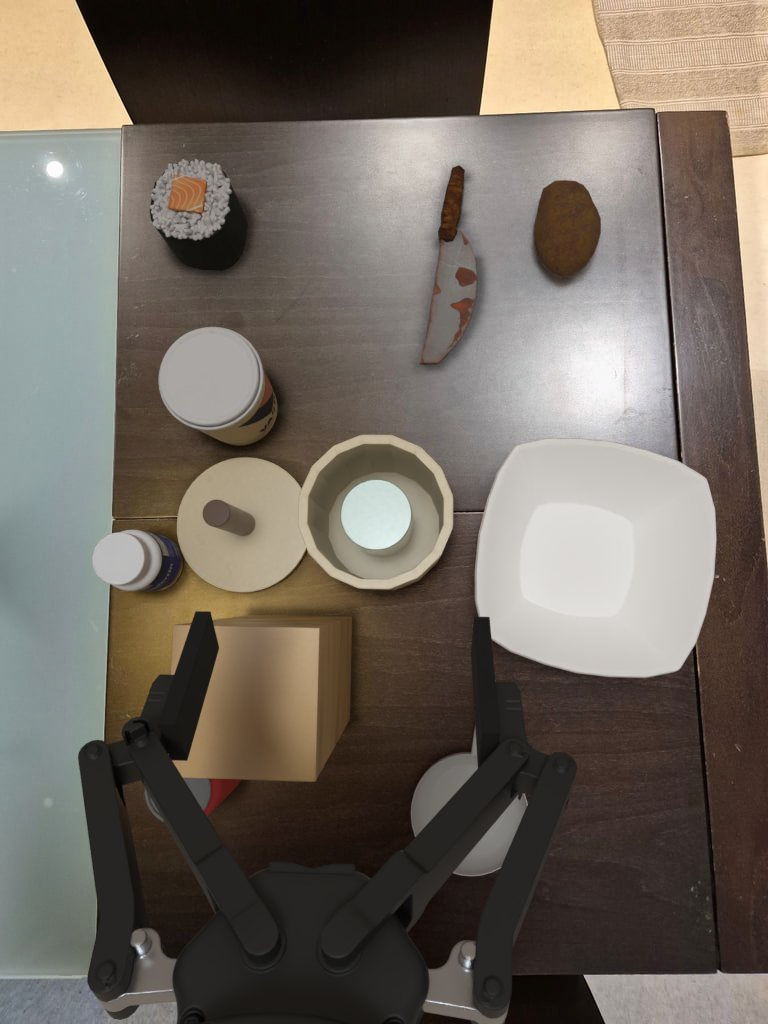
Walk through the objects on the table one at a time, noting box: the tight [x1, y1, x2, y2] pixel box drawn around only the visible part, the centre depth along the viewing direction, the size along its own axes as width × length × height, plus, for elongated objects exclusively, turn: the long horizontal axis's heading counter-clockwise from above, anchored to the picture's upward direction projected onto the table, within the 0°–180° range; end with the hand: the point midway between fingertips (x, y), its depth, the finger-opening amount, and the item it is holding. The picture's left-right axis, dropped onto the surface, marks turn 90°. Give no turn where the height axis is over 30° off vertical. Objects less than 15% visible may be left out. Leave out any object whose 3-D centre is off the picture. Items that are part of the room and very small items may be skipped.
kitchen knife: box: [419, 164, 478, 364], centre depth 76 cm, size 21×2×5 cm
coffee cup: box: [158, 326, 278, 447], centre depth 70 cm, size 9×9×12 cm
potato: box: [533, 179, 602, 279], centre depth 73 cm, size 7×10×6 cm
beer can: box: [143, 778, 242, 823], centre depth 66 cm, size 7×7×12 cm
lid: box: [176, 456, 307, 593], centre depth 69 cm, size 14×14×11 cm
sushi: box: [149, 158, 248, 271], centre depth 74 cm, size 8×8×8 cm
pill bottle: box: [91, 529, 184, 592], centre depth 70 cm, size 6×6×10 cm
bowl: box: [474, 437, 718, 679], centre depth 68 cm, size 21×21×9 cm
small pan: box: [410, 679, 529, 877], centre depth 69 cm, size 11×18×4 cm, turn 171°
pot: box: [298, 434, 454, 591], centre depth 67 cm, size 13×13×14 cm
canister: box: [340, 479, 413, 557], centre depth 67 cm, size 6×6×12 cm
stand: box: [168, 614, 353, 783], centre depth 61 cm, size 10×10×24 cm
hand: (342, 632), depth 37 cm, fingers open, 13 cm apart
